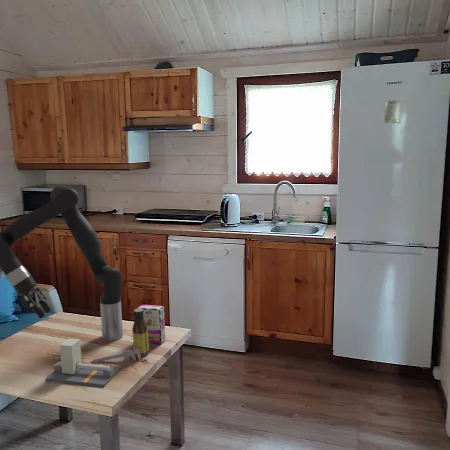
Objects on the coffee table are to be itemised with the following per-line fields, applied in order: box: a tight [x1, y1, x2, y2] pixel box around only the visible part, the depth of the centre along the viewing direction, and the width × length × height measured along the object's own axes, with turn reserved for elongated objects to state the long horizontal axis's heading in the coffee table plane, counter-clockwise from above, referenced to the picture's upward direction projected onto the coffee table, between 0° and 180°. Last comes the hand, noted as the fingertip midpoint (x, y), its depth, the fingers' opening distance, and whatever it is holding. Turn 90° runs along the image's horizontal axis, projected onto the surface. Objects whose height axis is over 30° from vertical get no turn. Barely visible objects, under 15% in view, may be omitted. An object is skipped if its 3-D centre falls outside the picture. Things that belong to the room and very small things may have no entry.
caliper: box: [90, 346, 142, 363], centre depth 184 cm, size 20×1×6 cm, turn 93°
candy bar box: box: [137, 304, 166, 345], centre depth 202 cm, size 11×5×16 cm, turn 74°
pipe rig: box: [45, 361, 122, 388], centre depth 173 cm, size 14×24×4 cm, turn 78°
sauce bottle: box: [131, 307, 150, 357], centre depth 189 cm, size 6×6×20 cm
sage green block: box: [59, 338, 83, 374], centre depth 173 cm, size 6×5×12 cm
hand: (46, 314), depth 175 cm, fingers open, 8 cm apart
